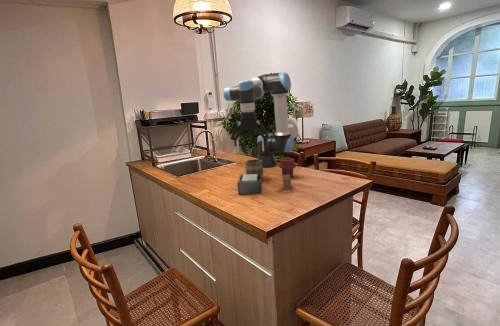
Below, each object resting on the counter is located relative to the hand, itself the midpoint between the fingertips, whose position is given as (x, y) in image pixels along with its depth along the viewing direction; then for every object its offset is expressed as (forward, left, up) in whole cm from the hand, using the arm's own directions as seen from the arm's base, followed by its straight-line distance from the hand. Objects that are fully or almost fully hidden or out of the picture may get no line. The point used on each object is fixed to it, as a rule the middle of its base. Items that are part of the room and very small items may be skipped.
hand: (250, 151), depth 147 cm
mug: (-17, +1, -21) cm, 27 cm away
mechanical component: (-18, +21, -21) cm, 35 cm away
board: (+3, -1, -16) cm, 16 cm away
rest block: (+2, +19, -21) cm, 28 cm away
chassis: (+3, -1, -21) cm, 21 cm away
